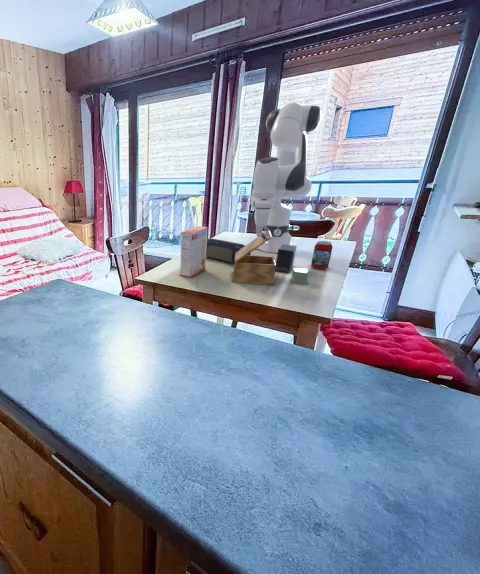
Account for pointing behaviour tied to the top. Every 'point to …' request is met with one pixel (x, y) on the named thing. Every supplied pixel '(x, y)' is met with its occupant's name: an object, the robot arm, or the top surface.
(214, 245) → the portable speaker
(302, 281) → the block
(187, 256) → the cracker box
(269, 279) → the basket
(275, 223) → the robot arm
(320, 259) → the beverage can
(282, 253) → the small box
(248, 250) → the basket lid
